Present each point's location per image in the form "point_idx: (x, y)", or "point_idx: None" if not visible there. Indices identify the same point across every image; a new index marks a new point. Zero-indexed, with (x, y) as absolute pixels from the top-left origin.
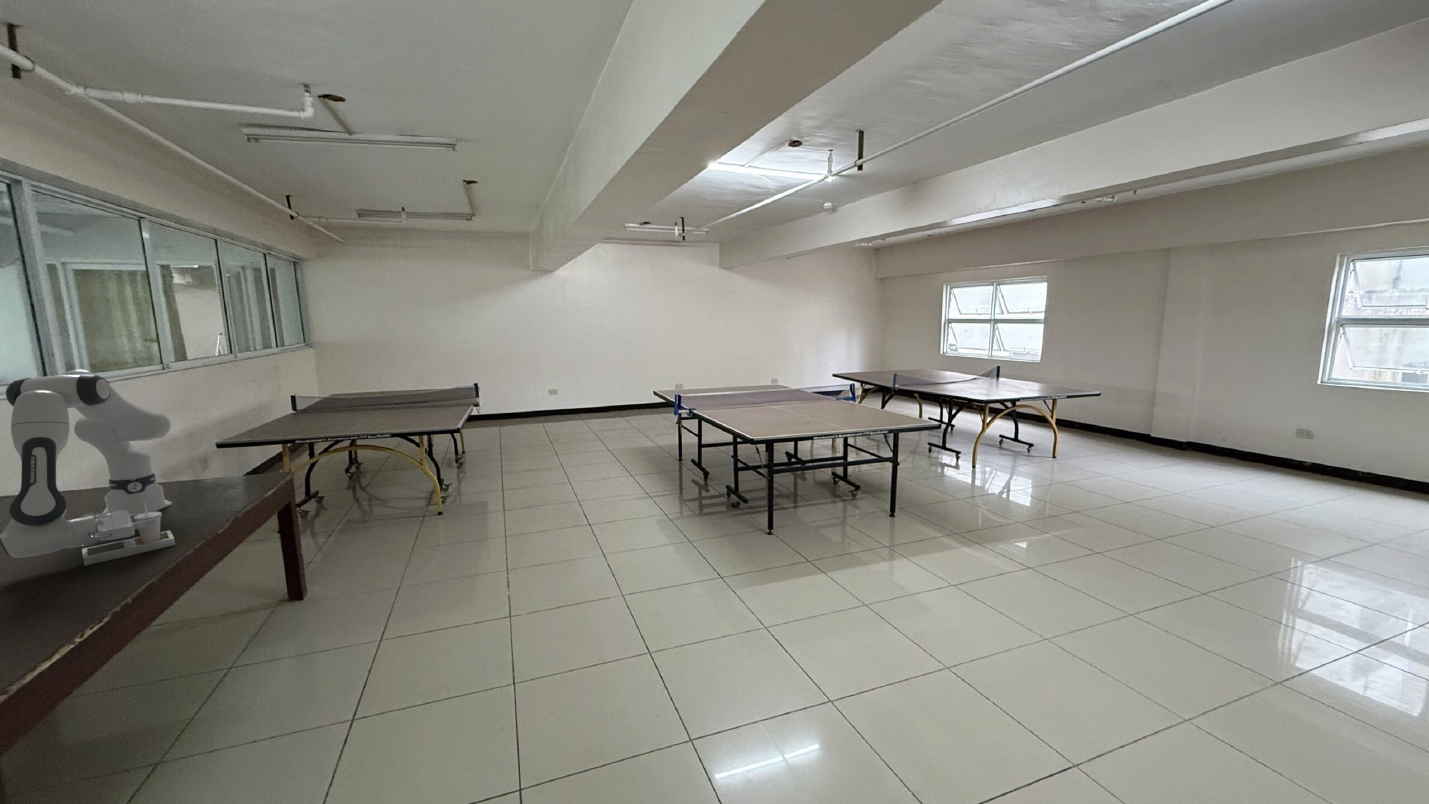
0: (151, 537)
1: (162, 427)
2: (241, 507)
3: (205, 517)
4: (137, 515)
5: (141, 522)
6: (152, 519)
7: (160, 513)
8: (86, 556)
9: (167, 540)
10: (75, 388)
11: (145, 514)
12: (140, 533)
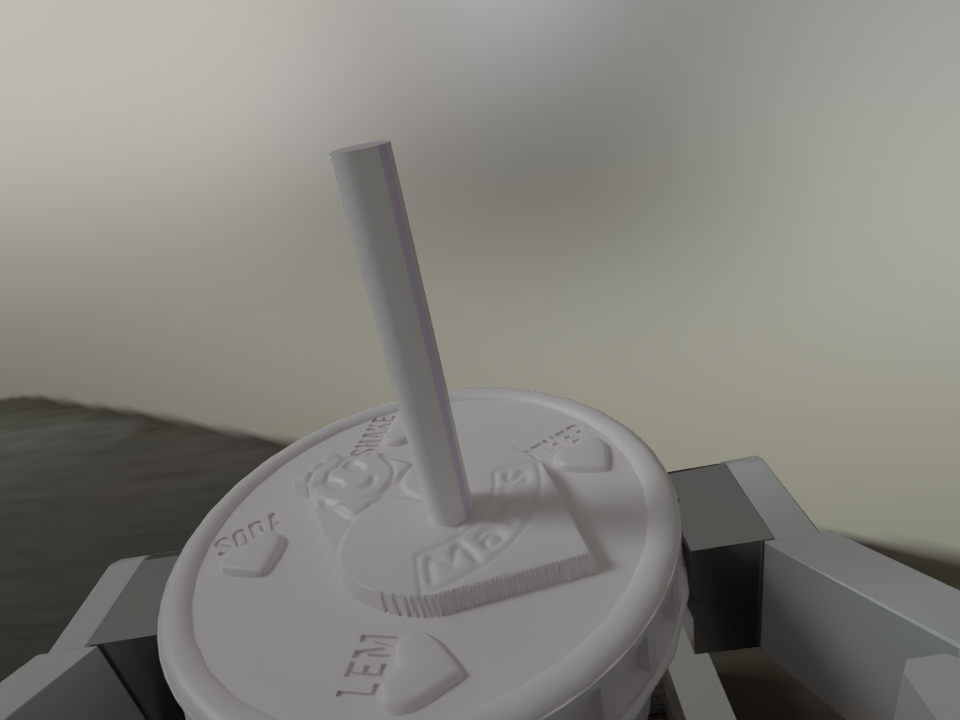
0: None
1: None
2: (101, 422)
3: (51, 540)
4: (228, 689)
5: (941, 598)
6: (753, 457)
7: (490, 388)
8: None
9: (711, 673)
10: None
11: (459, 497)
12: None
